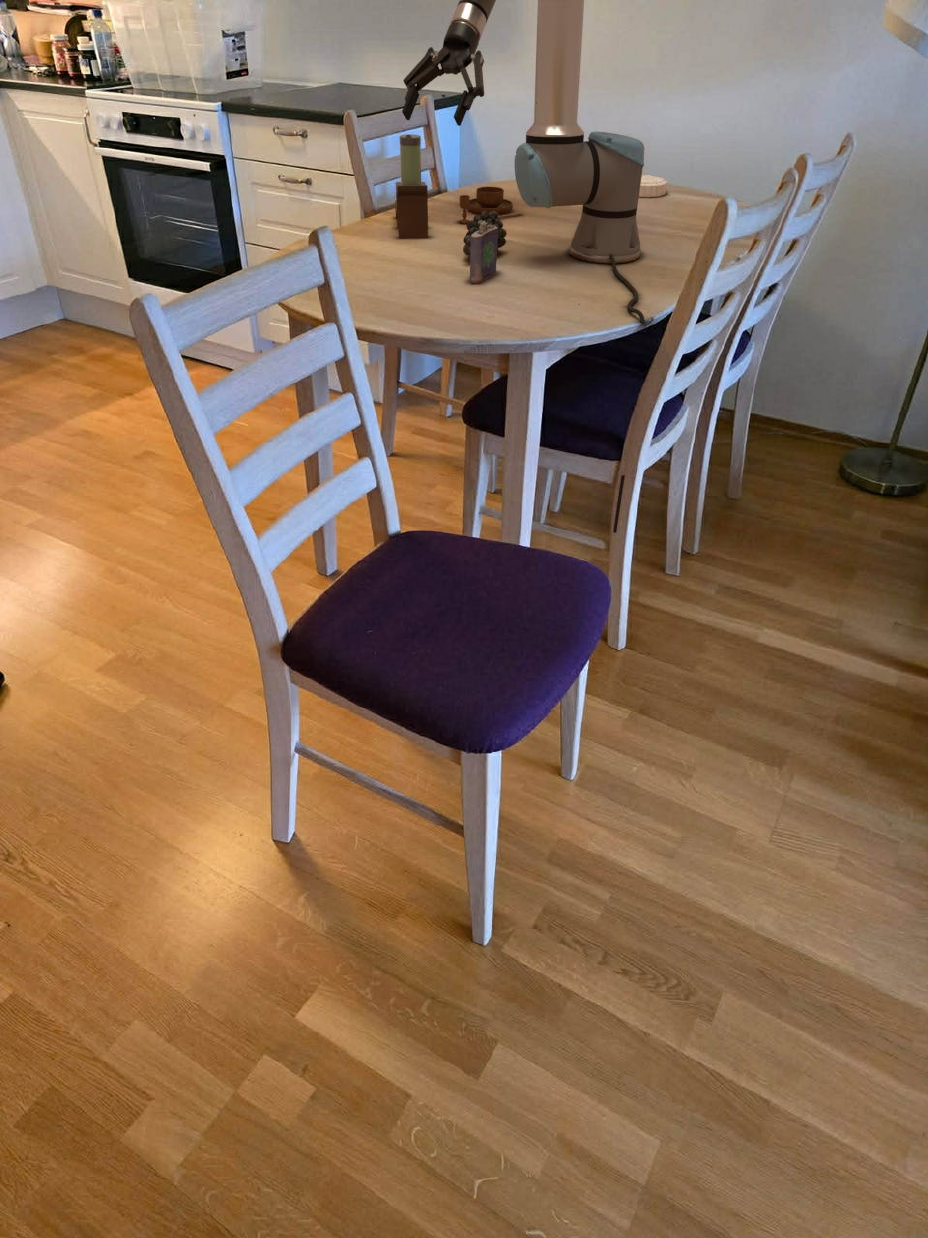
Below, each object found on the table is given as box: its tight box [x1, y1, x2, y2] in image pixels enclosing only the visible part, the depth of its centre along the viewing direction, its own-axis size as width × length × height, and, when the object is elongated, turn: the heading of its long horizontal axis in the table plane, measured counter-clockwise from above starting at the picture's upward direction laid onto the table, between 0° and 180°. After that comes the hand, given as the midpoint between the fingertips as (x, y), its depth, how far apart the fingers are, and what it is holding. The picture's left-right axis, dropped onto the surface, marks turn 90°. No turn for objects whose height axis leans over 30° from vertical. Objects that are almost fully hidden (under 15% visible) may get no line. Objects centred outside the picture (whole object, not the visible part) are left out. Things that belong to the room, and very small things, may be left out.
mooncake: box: [639, 174, 668, 198], centre depth 232 cm, size 12×12×4 cm
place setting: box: [458, 186, 522, 225], centre depth 211 cm, size 18×20×6 cm
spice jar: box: [399, 133, 422, 185], centre depth 188 cm, size 5×5×10 cm
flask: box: [469, 220, 498, 285], centre depth 168 cm, size 9×3×11 cm, turn 151°
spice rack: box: [394, 181, 429, 239], centre depth 197 cm, size 19×7×11 cm, turn 6°
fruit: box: [462, 211, 508, 259], centre depth 180 cm, size 9×8×15 cm
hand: (430, 118), depth 189 cm, fingers open, 13 cm apart
